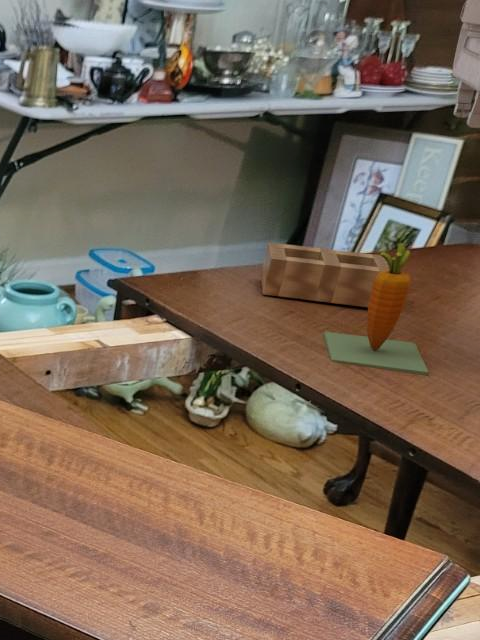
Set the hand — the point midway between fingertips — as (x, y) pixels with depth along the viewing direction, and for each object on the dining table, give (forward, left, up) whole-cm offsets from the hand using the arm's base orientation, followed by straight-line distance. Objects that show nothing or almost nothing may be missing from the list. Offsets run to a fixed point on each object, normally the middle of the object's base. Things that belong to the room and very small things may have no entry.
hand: (466, 121), depth 154 cm
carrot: (+6, +14, -30) cm, 33 cm away
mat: (+6, +14, -30) cm, 34 cm away
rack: (+11, -17, -30) cm, 36 cm away
